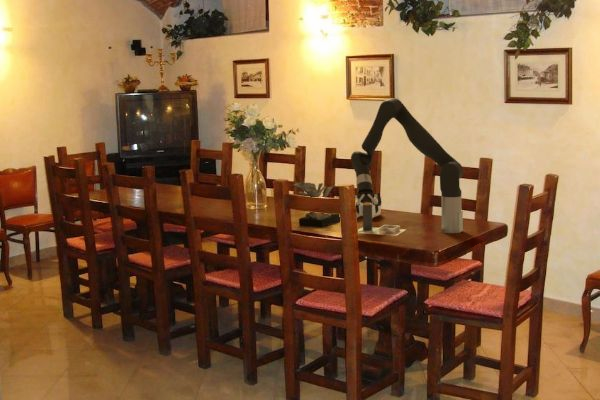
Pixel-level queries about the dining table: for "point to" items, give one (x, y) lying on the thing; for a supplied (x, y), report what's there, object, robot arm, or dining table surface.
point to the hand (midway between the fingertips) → (367, 212)
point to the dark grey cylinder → (367, 217)
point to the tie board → (384, 230)
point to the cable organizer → (372, 209)
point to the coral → (312, 217)
